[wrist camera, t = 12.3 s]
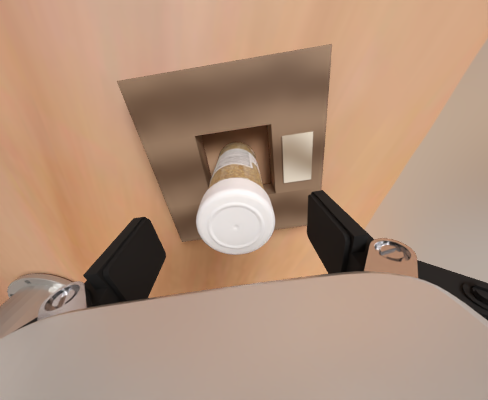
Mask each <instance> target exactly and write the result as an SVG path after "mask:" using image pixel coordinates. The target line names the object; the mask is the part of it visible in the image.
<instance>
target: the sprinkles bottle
mask: <svg viewBox="0 0 488 400" xmlns="http://www.w3.org/2000/svg"><path fill="white" fill-rule="evenodd" d="M196 226H197V230H198V233H199V235H200V237H201V238H202V240H203V241H204V242H205V243H206V244H207V245H208V246H210V247H211V248H213V249H215V250H217V251H219V252H222V253H226V254H233V255H238V254H246V253H250V252H252V251H255V250H257V249H258V248H260V247H262V246H263V245H264V244H265V243H266V242H267V241H268V240H269V239H270V237H271V236H272V233H273V231H274V227H275V215H274V211H273V207H272V204H271V201H270V198H269V196H268V194H267V193H266V192H265V190H264V188H263V184H262V179H261V176H260V171H259V167H258V164H257V161H256V157H255V154H254V152H253V150H252V149H251V148H250V147H249V146H248V145H246V144H244V143H242V142H233V143H230V144H228V145H226V146H225V147H224V148H223V149H222V150H221V152H220V155H219V159H218V162H217V164H216V167H215V169H214V172H213V175H212V178H211V181H210V186H209V189H208V190H207V191H206V193H205V194H204V196H203V198H202V200H201V203H200V206H199V209H198V212H197V216H196Z"/></svg>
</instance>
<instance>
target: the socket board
mask: <svg viewBox="0 0 488 400" xmlns="http://www.w3.org/2000/svg"><path fill="white" fill-rule="evenodd" d="M331 51H332V44H329V45H323V46H318V47H312V48H306V49H300V50H294V51H289V52H283V53H277V54H271V55H265V56H260V57H254V58H248V59H242V60H236V61H231V62H225V63H219V64H213V65H207V66H202V67H196V68H190V69H184V70H179V71H173V72H167V73H161V74H155V75H150V76H144V77H138V78H132V79H126V80H121V81H117V83H118V85H119V88H120V90H121V93H122V95H123V98H124V100H125V103H126V105H127V107H128V110H129V112H130V115H131V117H132V120H133V122H134V125H135V127H136V130H137V132H138V135H139V137H140V139H141V142H142V144H143V147H144V149H145V152H146V154H147V157H148V159H149V162H150V164H151V167H152V169H153V171H154V174H155V176H156V179H157V181H158V184H159V186H160V189H161V191H162V194H163V196H164V199H165V201H166V203H167V206H168V208H169V211H170V213H171V216H172V218H173V221H174V223H175V226H176V228H177V231H178V233H179V235H180V238H181V240H182V242H185V241H193V240H200V239H202V238H201V237H200V235H199V233H198V230H197V226H196V216H197V212H198V209H199V206H200V203H201V200H202V198H203V196H204V194H205V193H206V191H207V190H208V189H209V186H210V181H211V178H212V177H211V173H210V169H209V165H208V161H207V157H206V153H205V149H204V145H203V141H202V137H201V135H205V134H211V133H218V132H224V131H230V130H237V129H243V128H250V127H256V126H262V125H267V129H268V143H269V156H270V170H271V183H269V184H263V188H264V190H265V192H266V193H267V194H268V196H269V198H270V201H271V204H272V207H273V211H274V215H275V227H274V230H276V229H284V228H291V227H299V226H307V214H308V195H310V194H311V192H314V191H320V190H321V187H322V174H323V160H324V147H325V133H326V119H327V106H328V92H329V79H330V65H331Z"/></svg>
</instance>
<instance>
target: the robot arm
mask: <svg viewBox="0 0 488 400" xmlns="http://www.w3.org/2000/svg"><path fill="white" fill-rule="evenodd" d="M307 235H308V238H309V240H310V242H311V243H312V245H313V247H314V249H315V250H316V252H317V254H318V256H319V258H320V259H321V261H322V263H323V265H324V266H325V268H326V270H327V272H328V274H323V275H315V276H306V277H298V278H291V279H283V280H276V281H268V282H261V283H253V284H246V285H238V286H231V287H224V288H217V289H209V290H202V291H195V292H188V293H181V294H174V295H167V296H160V297H153V298H148V296H149V294H150V292H151V289H152V287H153V285H154V283H155V280H156V278H157V276H158V274H159V271H160V269H161V267H162V265H163V263H164V260H165V258H166V253H165V251H164V248H163V246H162V244H161V242H160V240H159V238H158V236H157V234H156V232H155V229H154V227H153V225H152V223H151V221H150V220H149V219H147V218H146V217H140V218H134V219H133V220H132V221H131V222H130V223H129V224H128V225H127V227H126V228H125V229H124V230H123V231H122V232H121V233H120V234H119V236H118V237H117V238H116V239H115V240H114V241H113V242H112V243H111V245H110V246H109V247H108V248H107V249H106V250H105V251H104V253H103V254H102V255H101V256H100V257H99V258H98V259H97V260H96V262H95V263H94V264H93V265H92V266H91V267H90V268H89V269H88V271H87V272H86V273H85V274H84V275H83V276H84V277H85V278H86V279H87V281H86V282H85V283H83V282H80V281H78V282H71V281H69V280H67V279H64V278H61V277H58V276H54V275H49V274H27V275H23V276H21V277H19V278H17V279H16V280H15V281H13V282H12V283H11V284H10V285H9V287H8V291H7V292H8V296H9V299H8V300H7V301H6V302H5V303H3V304H2V305H1V306H0V400H488V283H486V282H483V281H480V280H476V279H473V278H470V277H467V276H464V275H461V274H458V273H455V272H452V271H449V270H446V269H443V268H440V267H436V266H433V265H430V264H427V263H424V262H421V261H418V260H417V256H416V253H415V252H414V251H413V250H412V249H411V248H410V247H408V246H407V245H406V244H403V243H401V242H399V241H396V240H393V239H387V238H379V239H375V240H374V239H373V238H372V237H371V236H370V235H369V234H368V233H367V232H366V231H365V230H364V229H363V228H362V227H361V226H360V225H359V224H358V223H356V222H355V221H354V220H353V219H352V218H351V217H350V216H349V215H348V214H347V213H346V212H345V211H344V210H343V209H342V208H341V207H340V206H339V205H338V204H336V203H335V202H334V201H333V200H332V199H331V198H330V197H329V196H328V195H327V194H326V193H325V192H324V191H323V190H320V191H314V192H311V194H310V195H308V214H307Z"/></svg>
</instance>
